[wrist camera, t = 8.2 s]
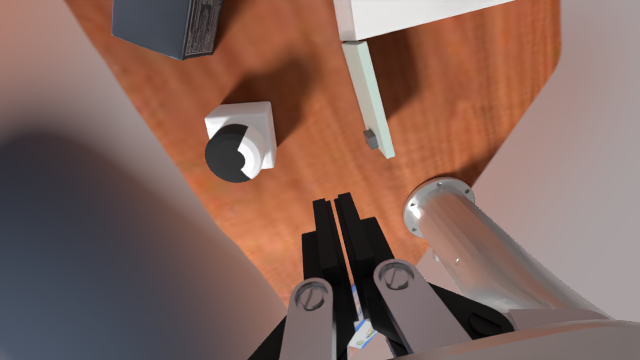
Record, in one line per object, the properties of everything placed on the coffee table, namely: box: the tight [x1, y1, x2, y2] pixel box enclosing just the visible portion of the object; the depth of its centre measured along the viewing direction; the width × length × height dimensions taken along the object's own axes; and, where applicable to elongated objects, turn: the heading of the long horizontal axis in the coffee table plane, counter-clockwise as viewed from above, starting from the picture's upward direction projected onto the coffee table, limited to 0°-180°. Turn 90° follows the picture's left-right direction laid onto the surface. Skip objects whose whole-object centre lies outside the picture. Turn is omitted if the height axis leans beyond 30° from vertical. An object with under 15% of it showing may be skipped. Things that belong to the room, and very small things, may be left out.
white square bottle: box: [205, 101, 277, 183], centre depth 34 cm, size 7×7×12 cm
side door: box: [342, 41, 395, 159], centre depth 34 cm, size 2×13×9 cm, turn 20°
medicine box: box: [349, 283, 378, 349], centre depth 54 cm, size 8×4×9 cm, turn 153°
